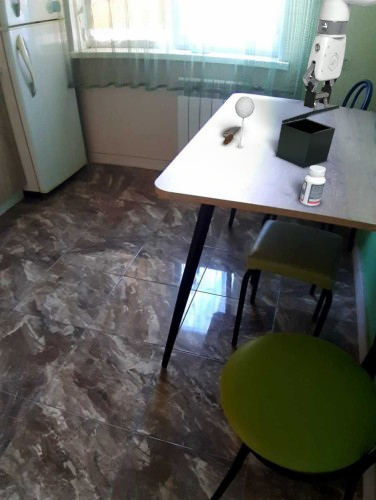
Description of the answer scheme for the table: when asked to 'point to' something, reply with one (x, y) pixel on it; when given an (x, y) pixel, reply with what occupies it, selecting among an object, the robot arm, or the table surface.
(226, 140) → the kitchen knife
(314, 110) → the bin lid
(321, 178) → the pill bottle
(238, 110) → the lollipop
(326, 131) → the bin
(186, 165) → the table surface
